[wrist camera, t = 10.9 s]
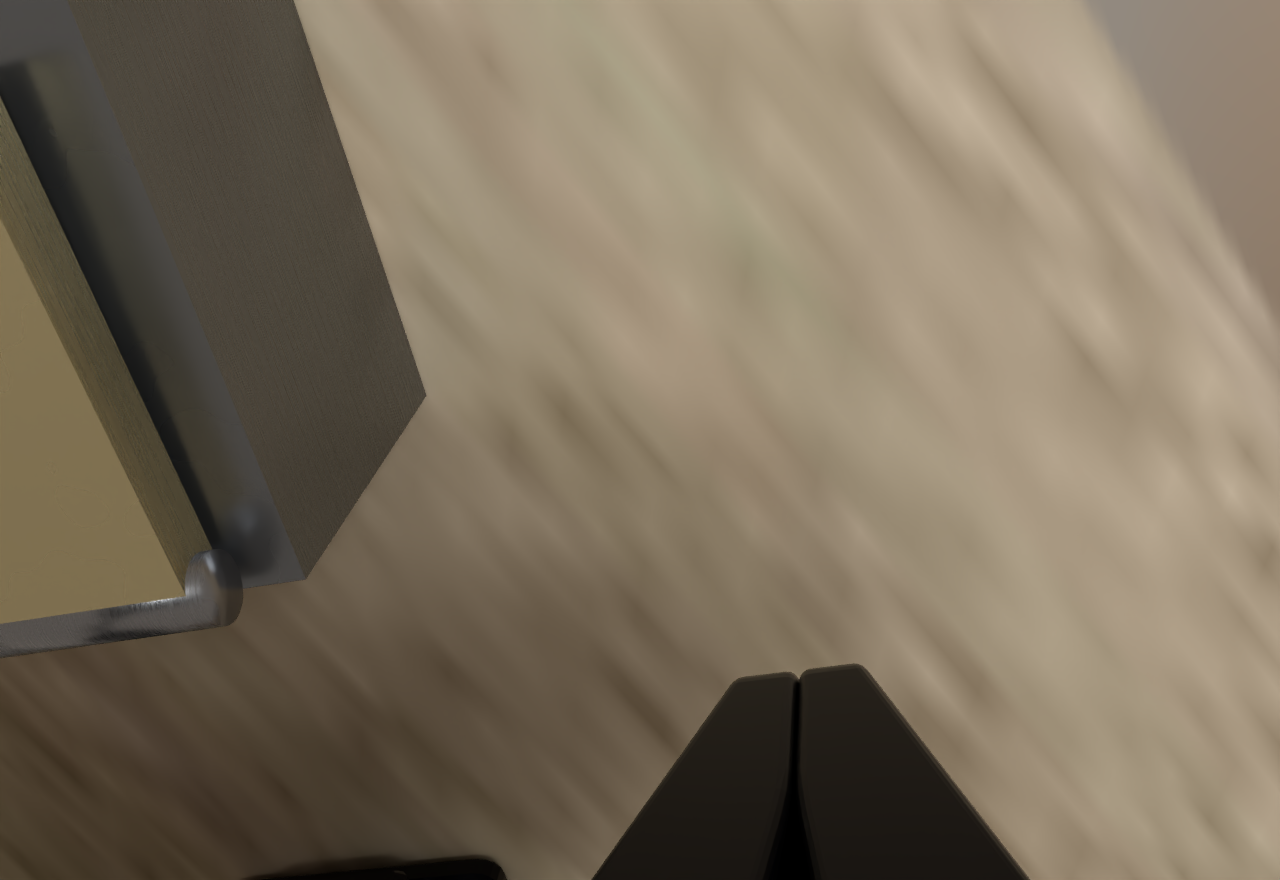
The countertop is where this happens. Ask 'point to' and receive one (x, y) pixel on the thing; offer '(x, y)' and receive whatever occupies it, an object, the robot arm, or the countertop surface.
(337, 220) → the drawbar block
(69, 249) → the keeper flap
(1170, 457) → the countertop surface
